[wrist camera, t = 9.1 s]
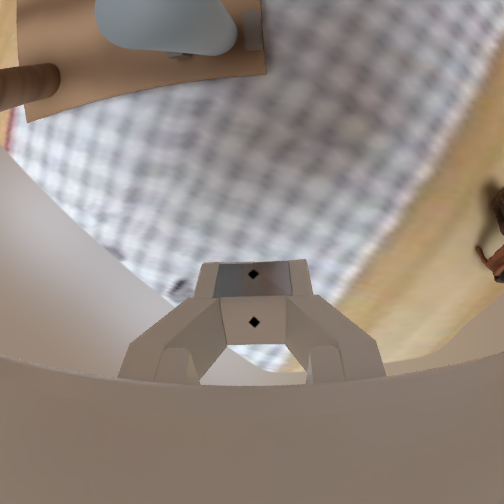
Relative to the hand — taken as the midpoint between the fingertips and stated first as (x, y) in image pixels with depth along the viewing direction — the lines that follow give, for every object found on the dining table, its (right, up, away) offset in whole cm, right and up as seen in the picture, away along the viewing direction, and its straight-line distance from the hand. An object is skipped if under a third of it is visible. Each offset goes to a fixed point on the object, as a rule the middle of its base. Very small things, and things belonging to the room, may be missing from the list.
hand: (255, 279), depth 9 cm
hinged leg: (-2, +14, +6) cm, 16 cm away
